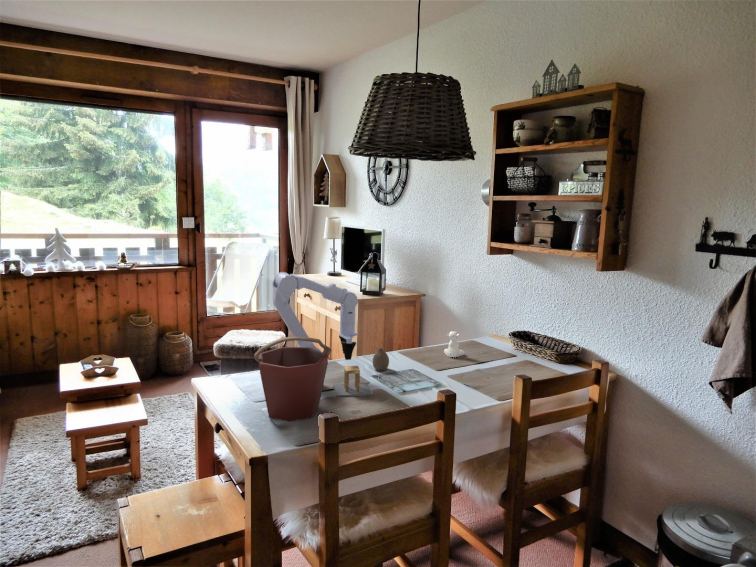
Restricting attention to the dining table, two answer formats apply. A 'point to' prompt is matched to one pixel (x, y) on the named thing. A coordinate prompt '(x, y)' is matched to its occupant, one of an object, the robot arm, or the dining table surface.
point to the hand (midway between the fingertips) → (346, 356)
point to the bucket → (292, 378)
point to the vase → (380, 360)
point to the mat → (352, 390)
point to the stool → (348, 371)
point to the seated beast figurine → (453, 345)
